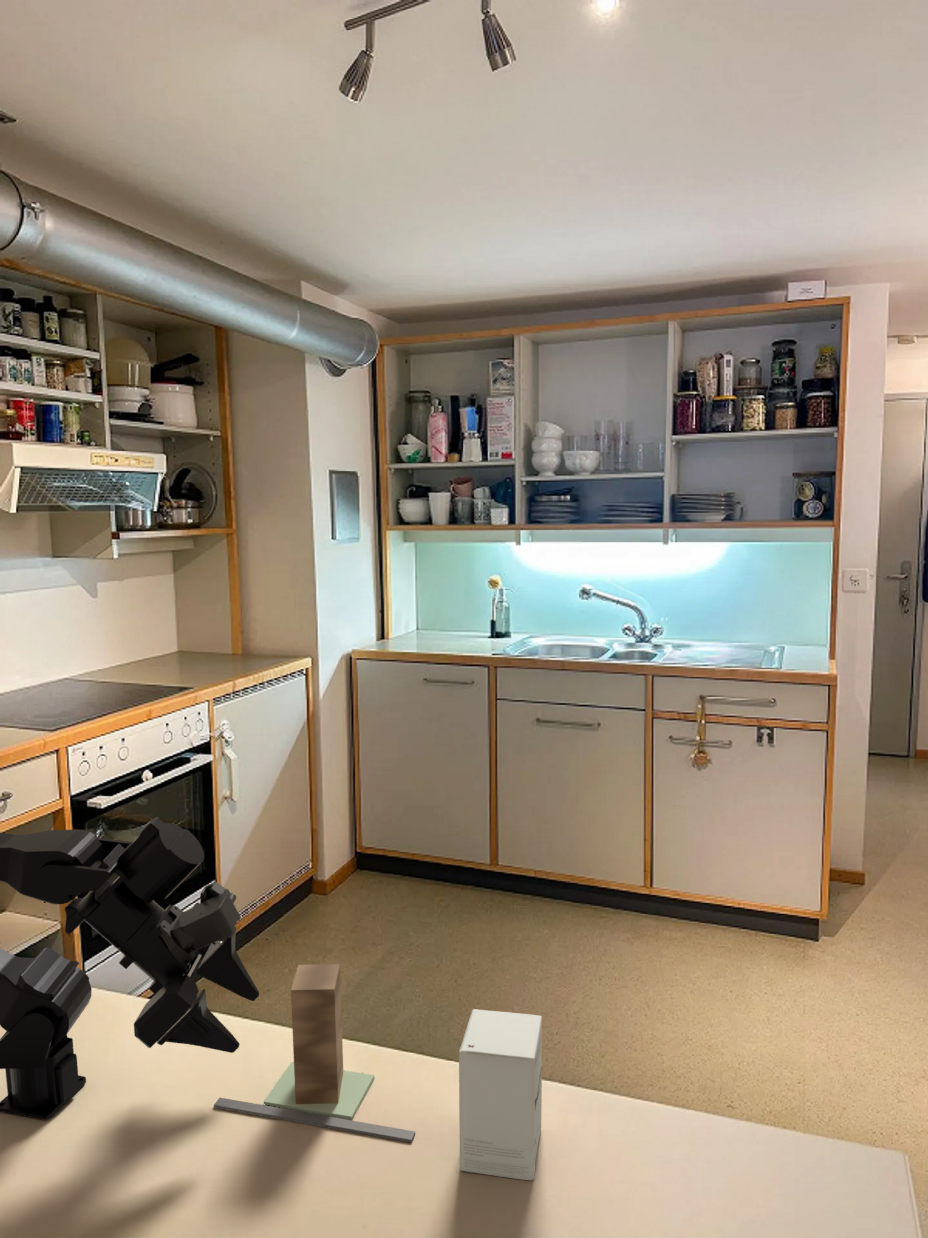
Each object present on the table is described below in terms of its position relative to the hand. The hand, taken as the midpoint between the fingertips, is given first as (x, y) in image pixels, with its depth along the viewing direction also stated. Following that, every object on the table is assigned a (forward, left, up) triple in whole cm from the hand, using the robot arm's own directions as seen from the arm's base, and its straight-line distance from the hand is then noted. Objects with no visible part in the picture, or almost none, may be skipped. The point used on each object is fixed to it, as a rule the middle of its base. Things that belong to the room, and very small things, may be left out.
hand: (247, 1022), depth 95 cm
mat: (+7, +2, -8) cm, 11 cm away
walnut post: (+7, +2, -8) cm, 11 cm away
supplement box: (+28, -2, -8) cm, 30 cm away
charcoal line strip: (+8, -2, -8) cm, 12 cm away
